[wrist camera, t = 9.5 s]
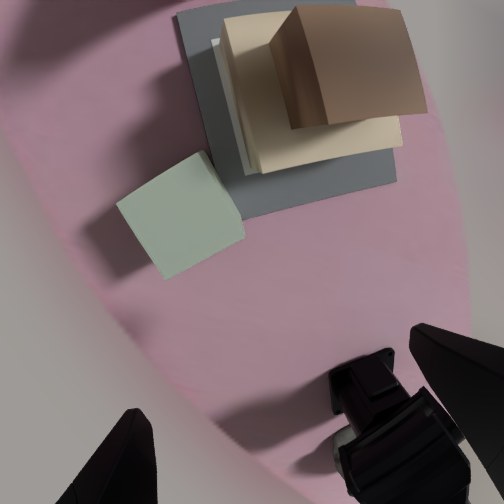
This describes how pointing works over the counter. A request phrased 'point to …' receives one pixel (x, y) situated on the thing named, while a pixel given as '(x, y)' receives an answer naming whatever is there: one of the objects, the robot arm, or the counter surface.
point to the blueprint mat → (229, 132)
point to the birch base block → (273, 106)
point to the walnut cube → (346, 65)
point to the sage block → (183, 215)
